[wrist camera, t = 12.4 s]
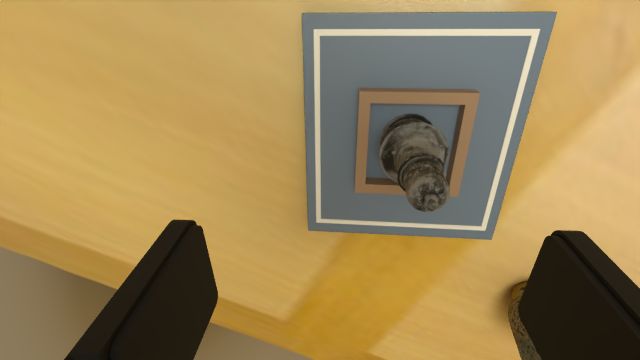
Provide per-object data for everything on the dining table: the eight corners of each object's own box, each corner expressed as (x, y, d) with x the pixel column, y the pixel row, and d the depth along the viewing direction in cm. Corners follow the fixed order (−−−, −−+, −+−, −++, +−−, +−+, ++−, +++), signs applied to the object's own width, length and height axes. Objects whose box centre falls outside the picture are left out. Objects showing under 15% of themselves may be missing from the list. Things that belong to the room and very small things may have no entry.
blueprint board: (303, 13, 28) (299, 13, 26) (550, 11, 27) (568, 12, 25) (309, 225, 39) (306, 238, 36) (488, 234, 37) (496, 248, 35)
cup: (479, 297, 41) (504, 357, 34) (521, 257, 38) (559, 314, 31) (528, 320, 42) (563, 383, 35) (573, 283, 39) (622, 344, 32)
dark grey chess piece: (452, 139, 31) (502, 208, 21) (404, 179, 34) (427, 258, 23) (410, 96, 30) (441, 146, 19) (363, 141, 32) (367, 207, 22)
